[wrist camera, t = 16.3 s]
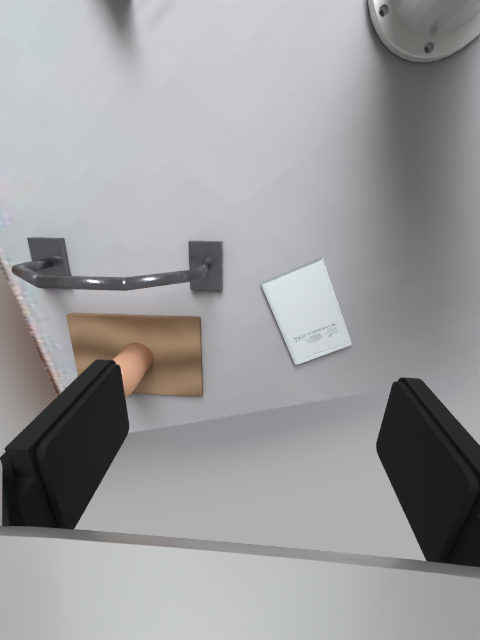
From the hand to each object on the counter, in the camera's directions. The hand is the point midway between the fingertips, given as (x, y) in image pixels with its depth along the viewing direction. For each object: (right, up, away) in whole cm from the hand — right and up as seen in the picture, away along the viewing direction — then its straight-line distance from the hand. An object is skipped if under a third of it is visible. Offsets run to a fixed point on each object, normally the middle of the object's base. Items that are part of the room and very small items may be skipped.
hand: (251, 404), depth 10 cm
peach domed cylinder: (-15, -2, +31) cm, 34 cm away
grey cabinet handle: (-15, +10, +28) cm, 33 cm away
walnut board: (-15, -2, +32) cm, 35 cm away
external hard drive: (+8, +4, +30) cm, 31 cm away
